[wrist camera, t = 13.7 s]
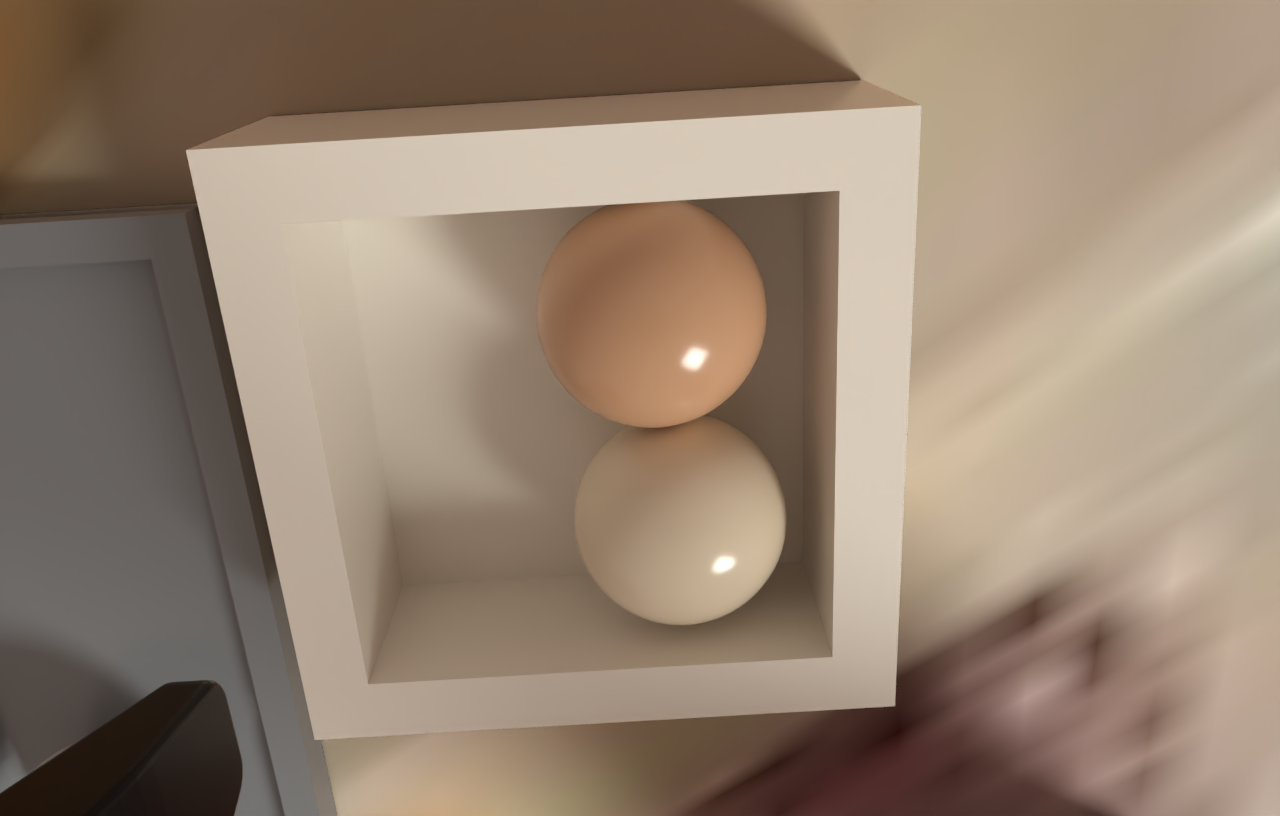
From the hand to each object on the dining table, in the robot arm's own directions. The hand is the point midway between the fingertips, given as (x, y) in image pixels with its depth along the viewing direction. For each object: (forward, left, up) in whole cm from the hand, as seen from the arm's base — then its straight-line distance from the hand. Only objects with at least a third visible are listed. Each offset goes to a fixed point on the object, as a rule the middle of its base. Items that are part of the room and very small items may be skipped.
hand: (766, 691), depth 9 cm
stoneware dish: (-2, +2, -13) cm, 13 cm away
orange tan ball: (0, +2, -12) cm, 12 cm away
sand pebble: (-4, +2, -12) cm, 12 cm away
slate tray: (-6, +13, -13) cm, 19 cm away
